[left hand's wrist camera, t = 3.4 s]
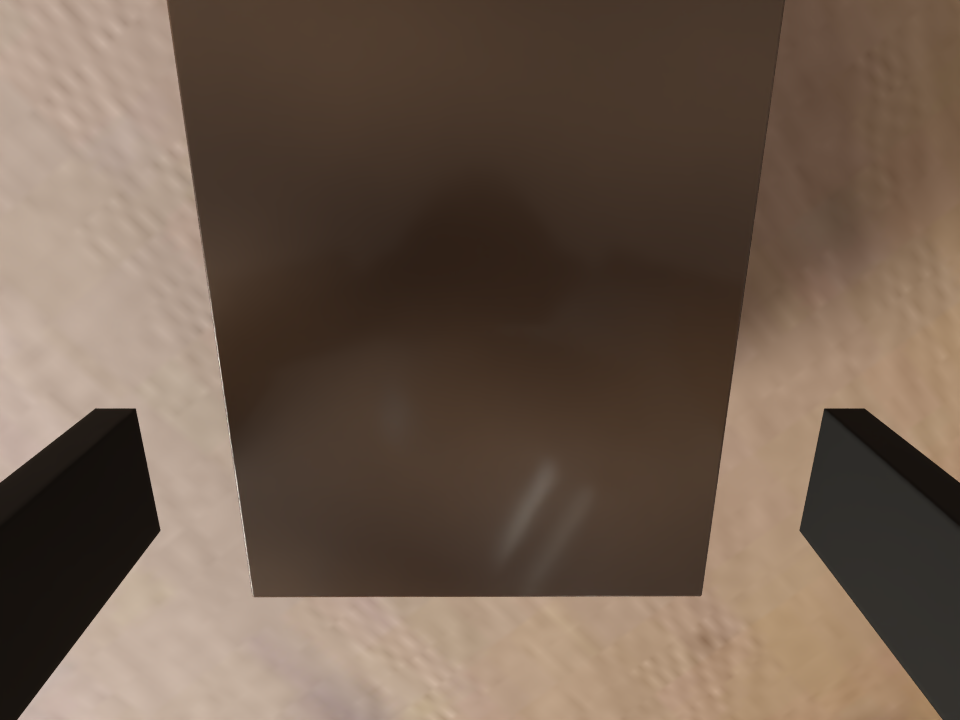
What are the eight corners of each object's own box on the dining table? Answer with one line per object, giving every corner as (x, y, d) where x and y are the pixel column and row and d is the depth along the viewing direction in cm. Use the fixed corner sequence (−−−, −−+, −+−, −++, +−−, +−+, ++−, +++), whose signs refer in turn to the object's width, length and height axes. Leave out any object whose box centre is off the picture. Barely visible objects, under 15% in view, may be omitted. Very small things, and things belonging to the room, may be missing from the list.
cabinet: (295, -131, 18) (109, -386, 9) (657, -131, 18) (840, -385, 9) (339, 413, 24) (251, 597, 15) (615, 413, 24) (702, 596, 15)
